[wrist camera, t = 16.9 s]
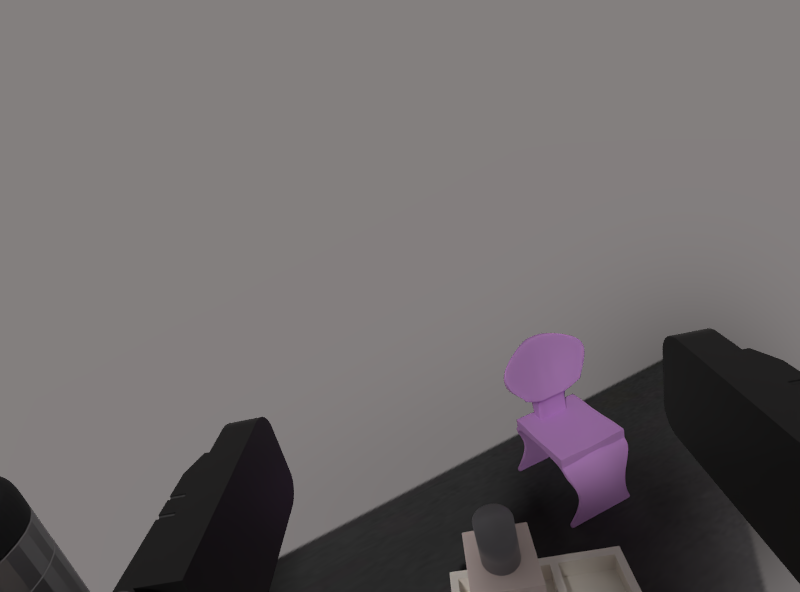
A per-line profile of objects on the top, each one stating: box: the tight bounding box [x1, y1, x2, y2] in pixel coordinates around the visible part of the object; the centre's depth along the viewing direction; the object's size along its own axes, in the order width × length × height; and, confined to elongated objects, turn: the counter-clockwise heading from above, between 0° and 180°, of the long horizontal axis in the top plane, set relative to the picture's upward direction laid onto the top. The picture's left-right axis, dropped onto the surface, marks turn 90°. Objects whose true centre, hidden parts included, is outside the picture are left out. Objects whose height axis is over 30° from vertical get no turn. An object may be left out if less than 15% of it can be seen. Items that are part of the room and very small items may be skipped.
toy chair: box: [504, 333, 630, 528], centre depth 41 cm, size 8×9×15 cm
